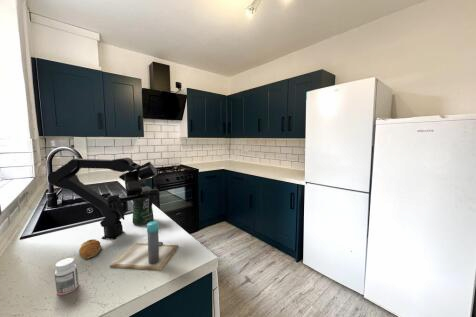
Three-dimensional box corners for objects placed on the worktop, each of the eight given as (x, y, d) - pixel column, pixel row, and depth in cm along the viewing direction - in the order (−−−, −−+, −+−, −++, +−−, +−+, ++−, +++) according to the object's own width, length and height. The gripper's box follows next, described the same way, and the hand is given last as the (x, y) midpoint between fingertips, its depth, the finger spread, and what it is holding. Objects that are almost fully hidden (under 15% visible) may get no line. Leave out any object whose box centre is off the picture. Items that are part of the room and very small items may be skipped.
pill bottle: (65, 283, 58) (62, 257, 57) (82, 282, 58) (79, 256, 58) (52, 296, 53) (48, 267, 52) (70, 294, 54) (67, 266, 53)
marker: (145, 264, 65) (144, 225, 64) (151, 257, 68) (150, 221, 67) (156, 264, 65) (155, 226, 63) (161, 258, 68) (160, 221, 67)
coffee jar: (140, 227, 95) (137, 190, 93) (130, 224, 99) (127, 188, 97) (156, 219, 103) (154, 186, 101) (146, 217, 107) (144, 184, 105)
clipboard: (110, 267, 65) (109, 262, 65) (136, 244, 79) (136, 240, 79) (160, 270, 63) (160, 265, 63) (178, 246, 77) (178, 242, 77)
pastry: (102, 255, 72) (101, 245, 72) (79, 263, 68) (78, 253, 68) (100, 245, 79) (99, 236, 79) (79, 251, 75) (78, 242, 75)
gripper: (105, 175, 74) (107, 212, 66) (157, 170, 84) (164, 201, 76) (107, 191, 81) (109, 225, 73) (154, 184, 91) (161, 214, 83)
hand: (137, 216), depth 76 cm, fingers open, 9 cm apart
